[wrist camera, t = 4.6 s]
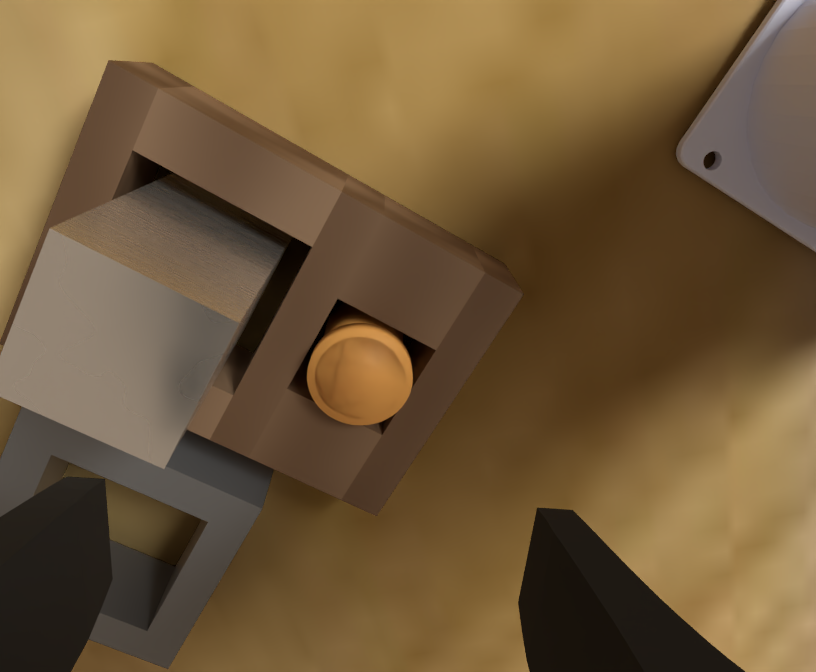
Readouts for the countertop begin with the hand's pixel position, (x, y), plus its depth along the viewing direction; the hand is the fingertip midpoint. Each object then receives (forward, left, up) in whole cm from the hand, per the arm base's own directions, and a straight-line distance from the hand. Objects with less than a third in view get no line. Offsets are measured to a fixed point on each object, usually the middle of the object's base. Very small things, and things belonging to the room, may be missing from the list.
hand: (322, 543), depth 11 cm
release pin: (0, 0, -10) cm, 10 cm away
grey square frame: (+4, +9, -10) cm, 14 cm away
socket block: (+3, 0, -10) cm, 11 cm away
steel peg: (+5, 0, -10) cm, 12 cm away
